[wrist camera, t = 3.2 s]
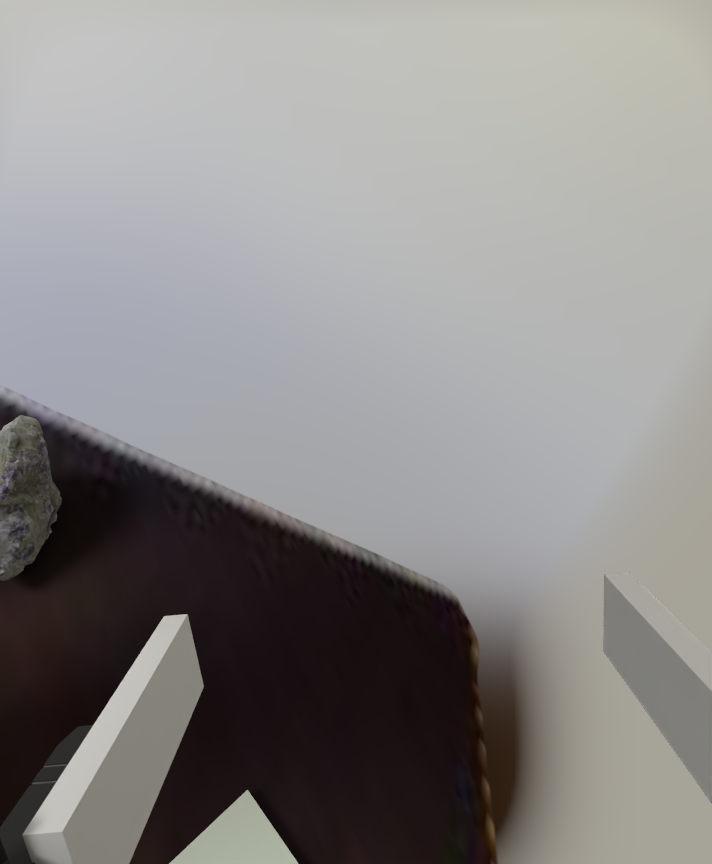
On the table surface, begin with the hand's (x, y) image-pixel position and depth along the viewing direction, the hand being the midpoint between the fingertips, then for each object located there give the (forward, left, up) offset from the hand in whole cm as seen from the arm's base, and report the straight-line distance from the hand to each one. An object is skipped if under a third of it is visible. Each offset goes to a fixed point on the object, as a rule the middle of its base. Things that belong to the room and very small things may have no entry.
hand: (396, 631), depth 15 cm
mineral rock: (+1, +35, -28) cm, 45 cm away
